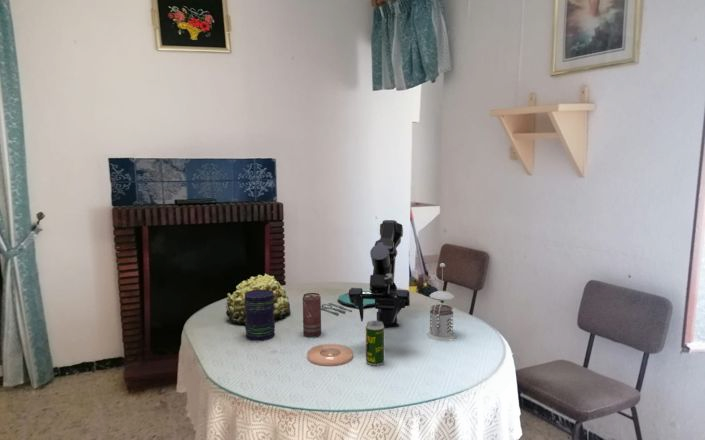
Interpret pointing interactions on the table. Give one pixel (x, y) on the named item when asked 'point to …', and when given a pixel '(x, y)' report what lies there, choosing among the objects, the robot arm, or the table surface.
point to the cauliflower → (256, 283)
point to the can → (311, 314)
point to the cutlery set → (347, 303)
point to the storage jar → (259, 315)
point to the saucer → (330, 354)
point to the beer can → (375, 343)
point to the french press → (441, 316)
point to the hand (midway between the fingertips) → (376, 321)
